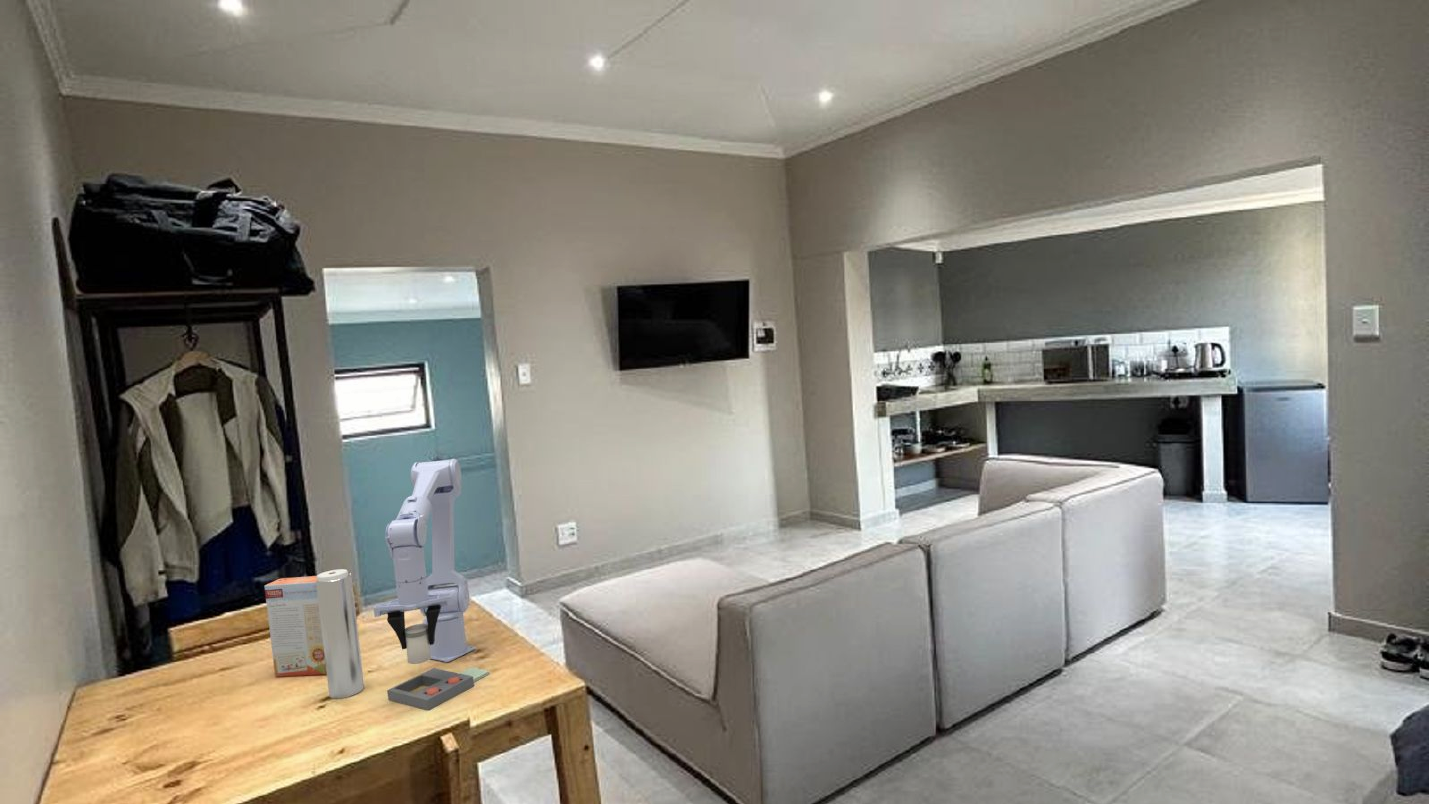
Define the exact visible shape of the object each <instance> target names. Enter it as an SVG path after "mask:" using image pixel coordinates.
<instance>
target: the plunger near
mask: <svg viewBox="0 0 1429 804" xmlns="http://www.w3.org/2000/svg"><path fill="white" fill-rule="evenodd" d="M438 692H439V687H431V688H429V689H427V695H431V696H432V695H434V694H436V693H438Z"/></svg>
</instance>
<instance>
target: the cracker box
mask: <svg viewBox="0 0 1429 804" xmlns="http://www.w3.org/2000/svg"><path fill="white" fill-rule="evenodd" d="M316 581H317V575H312V576H311V575H310V576H300V577H299V576H297V577H296V576H295V577H284V578H283V577H281V578H278V579H276V580H274V581H272V582H269V583H267V584H265V585H264V586H263V587H264V593H265V594H264V595H265V602H266V603H265V604H266V610H267V618H268V627H269V635H270V637H269V638H270V642H271V652H272V659H273V668H274V676H275V677H276V678H279V677H281V678H283V677H298V676H314V675H317V676H319V675H320V676H321V675H327V672H326V664H325V655H324V647H323V638H322V629H321V621H320V612H319V604H318V595H317V587H316Z"/></svg>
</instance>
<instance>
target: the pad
mask: <svg viewBox="0 0 1429 804" xmlns="http://www.w3.org/2000/svg"><path fill="white" fill-rule="evenodd" d="M458 673H459V674H464V675H469V676H473V682H474V683H475V682H477V681H479V680H481V679H483V678H485V677H487V676H489V675H490V670H486V669H481V668H476V667H469V668H467V669H465V670H463V671H461V672H458Z"/></svg>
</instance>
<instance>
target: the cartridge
mask: <svg viewBox="0 0 1429 804" xmlns="http://www.w3.org/2000/svg"><path fill="white" fill-rule="evenodd" d="M404 633H405V638H406V649H405V650H406V657H407V663H408V664H409V665H416V664H422V663H423V664H424V663H426V662H428V661H430V660H432V659H431V649H430V644H429V629H428V624H422V623H417V624H413V625H410V626H407V627H405V631H404Z"/></svg>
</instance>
